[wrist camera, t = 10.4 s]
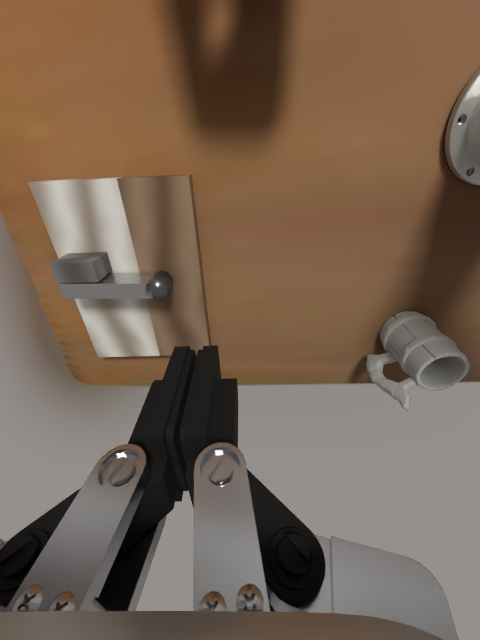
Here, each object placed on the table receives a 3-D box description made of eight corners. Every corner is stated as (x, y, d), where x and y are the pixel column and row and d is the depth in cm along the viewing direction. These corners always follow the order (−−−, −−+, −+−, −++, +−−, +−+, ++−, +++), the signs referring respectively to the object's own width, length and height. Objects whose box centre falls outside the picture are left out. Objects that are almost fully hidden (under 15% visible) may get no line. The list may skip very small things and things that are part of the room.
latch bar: (171, 270, 35) (164, 281, 32) (174, 288, 36) (168, 300, 33) (73, 270, 35) (57, 281, 32) (79, 288, 36) (65, 300, 33)
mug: (436, 330, 42) (499, 386, 32) (369, 369, 46) (405, 429, 36) (415, 299, 39) (477, 349, 29) (345, 343, 43) (377, 400, 33)
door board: (191, 174, 31) (181, 177, 26) (211, 346, 44) (207, 371, 39) (39, 180, 31) (0, 185, 26) (103, 349, 44) (85, 374, 39)
